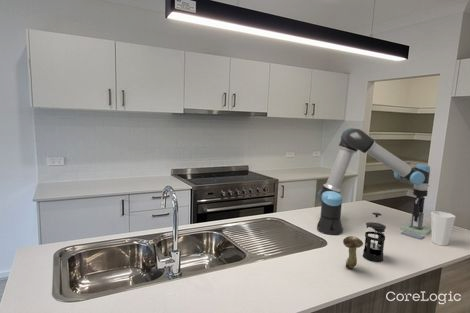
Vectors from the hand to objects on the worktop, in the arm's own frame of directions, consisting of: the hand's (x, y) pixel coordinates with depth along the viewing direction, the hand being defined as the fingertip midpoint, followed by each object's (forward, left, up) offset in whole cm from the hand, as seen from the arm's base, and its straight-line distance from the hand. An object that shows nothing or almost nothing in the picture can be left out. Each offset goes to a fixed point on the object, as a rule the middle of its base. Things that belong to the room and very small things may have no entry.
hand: (416, 224), depth 184 cm
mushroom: (-5, -80, -3) cm, 81 cm away
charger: (0, 0, 0) cm, 0 cm away
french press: (-2, -61, -4) cm, 61 cm away
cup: (+15, -13, -4) cm, 20 cm away
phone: (+1, -13, -4) cm, 13 cm away
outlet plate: (0, 0, -3) cm, 3 cm away
